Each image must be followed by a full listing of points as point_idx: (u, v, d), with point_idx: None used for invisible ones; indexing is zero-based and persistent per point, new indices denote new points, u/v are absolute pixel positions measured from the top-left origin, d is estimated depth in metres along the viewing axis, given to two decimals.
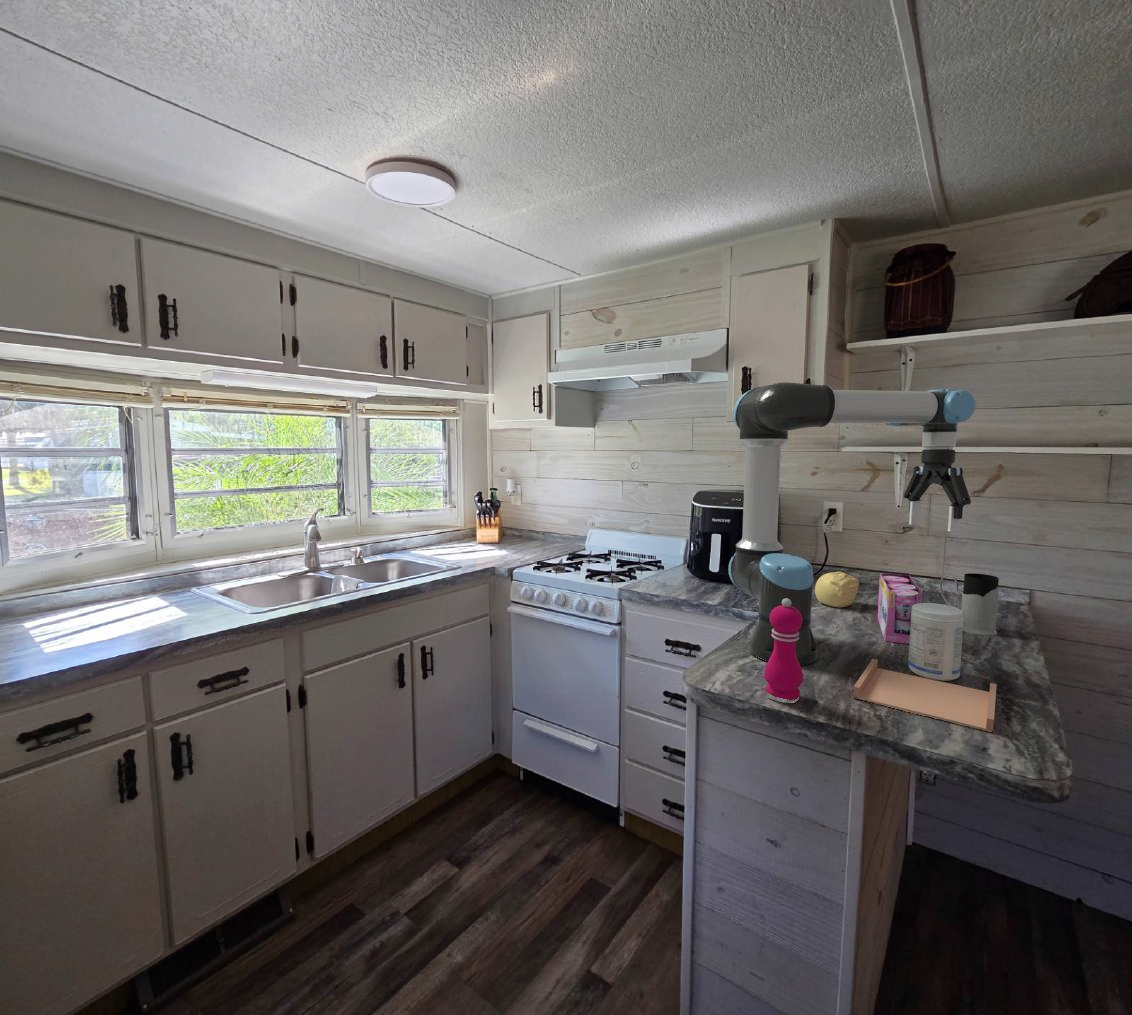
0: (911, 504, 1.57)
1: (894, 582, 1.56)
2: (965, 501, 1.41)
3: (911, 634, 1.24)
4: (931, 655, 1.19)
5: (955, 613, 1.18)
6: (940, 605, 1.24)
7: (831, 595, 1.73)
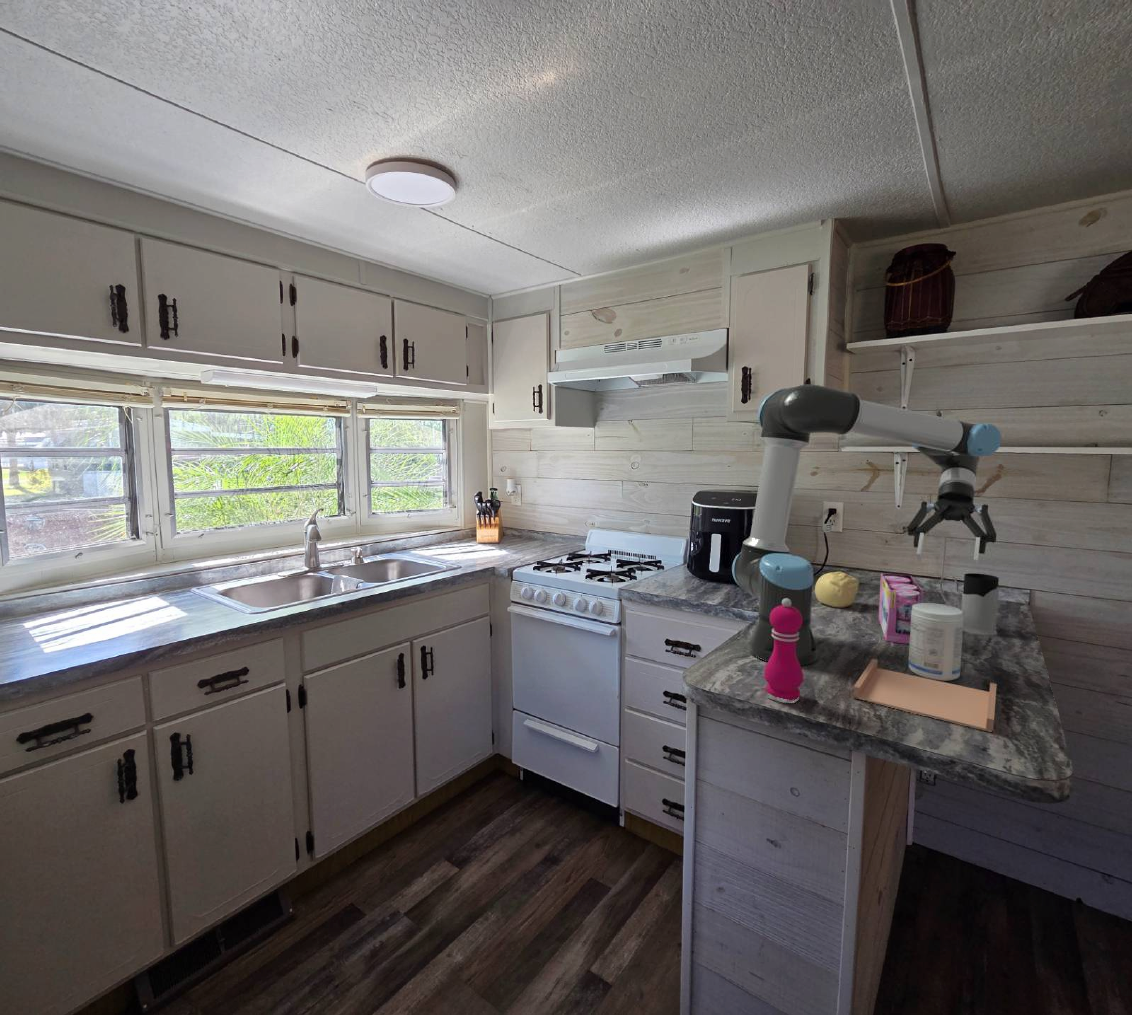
0: (921, 535, 1.37)
1: (895, 582, 1.55)
2: None
3: (911, 634, 1.24)
4: (931, 655, 1.19)
5: (955, 613, 1.18)
6: (940, 605, 1.24)
7: (831, 595, 1.73)
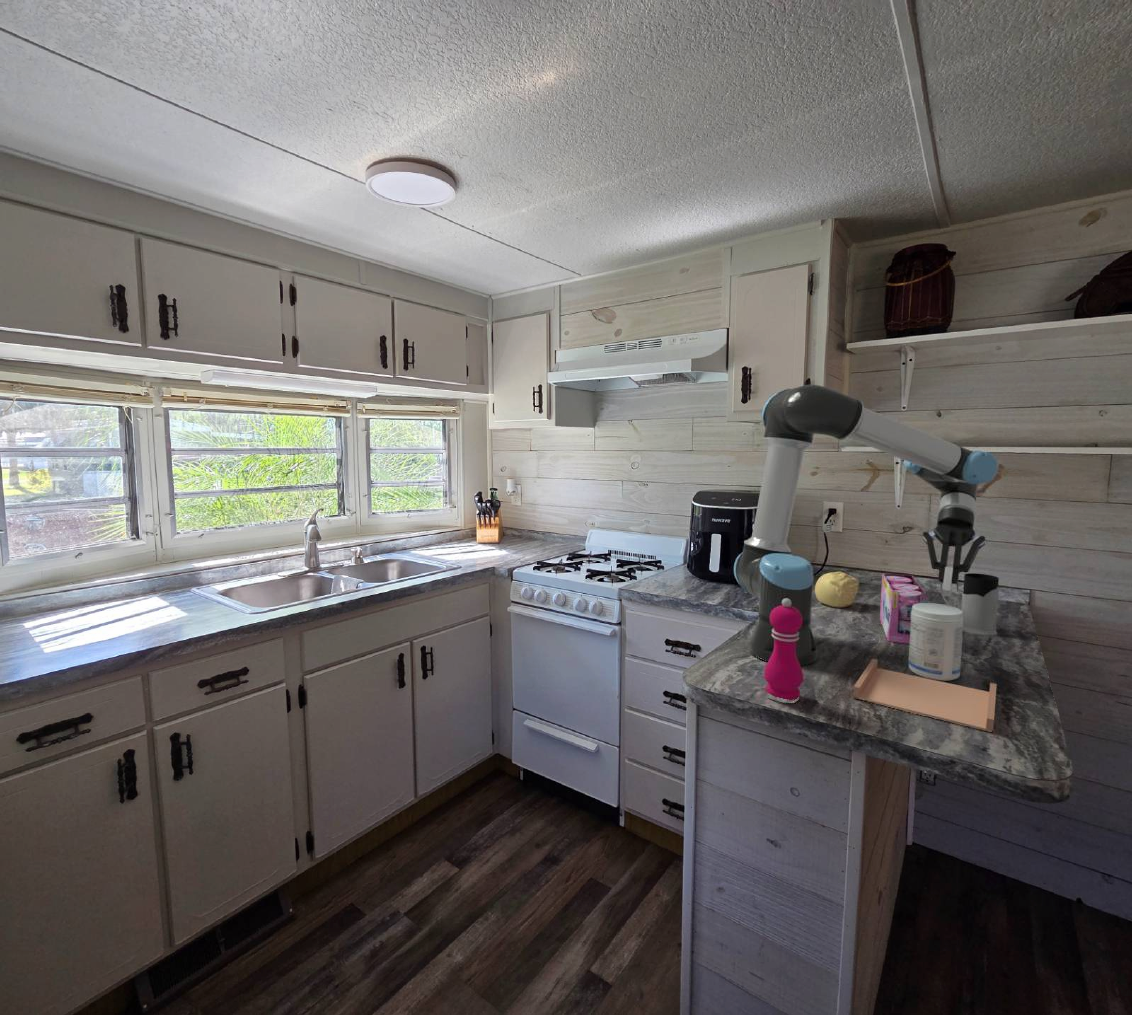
0: (947, 569, 1.33)
1: (897, 582, 1.55)
2: (968, 567, 1.32)
3: (911, 634, 1.24)
4: (931, 655, 1.19)
5: (955, 613, 1.18)
6: (940, 605, 1.24)
7: (831, 595, 1.73)
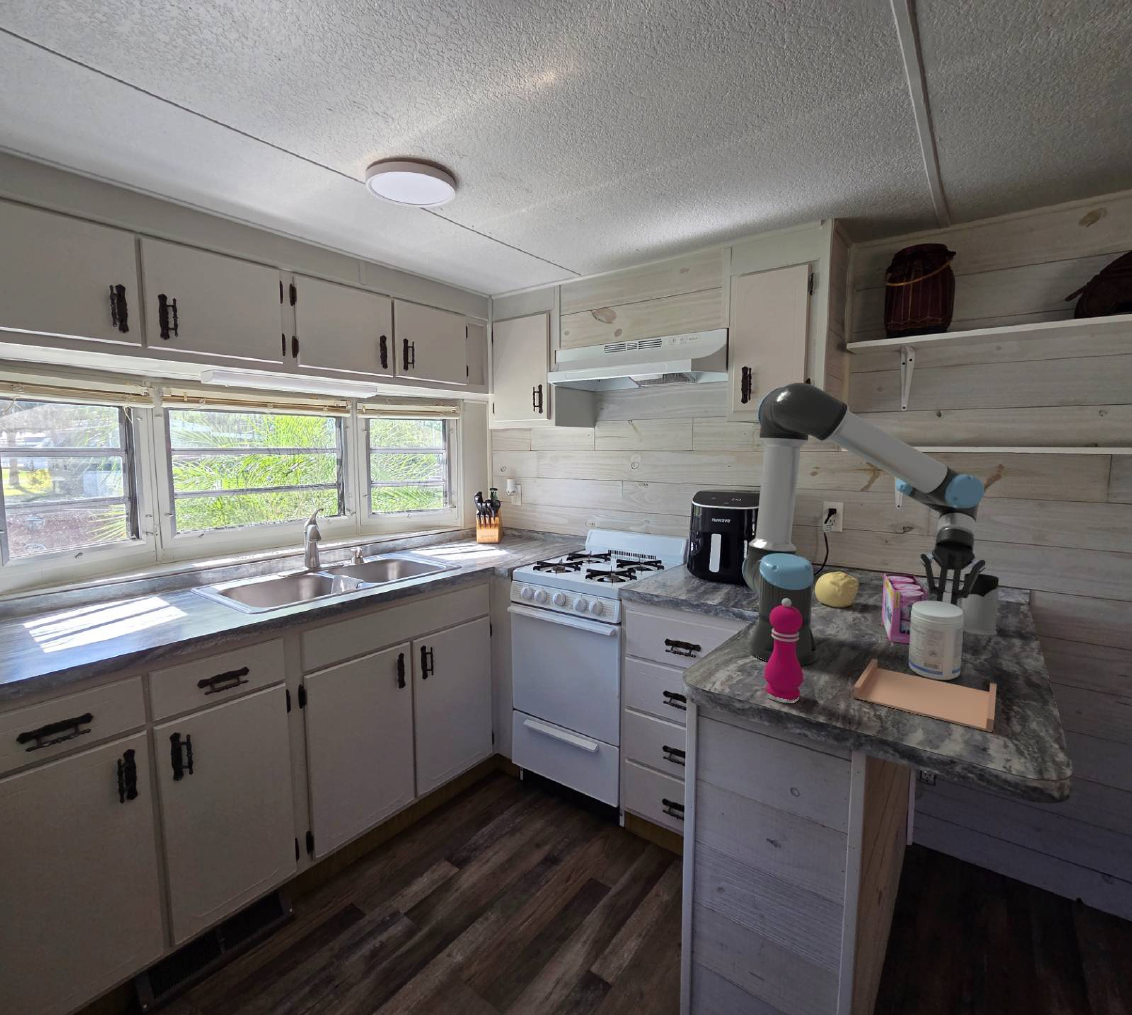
0: (945, 595, 1.27)
1: (899, 582, 1.55)
2: (967, 593, 1.26)
3: (911, 634, 1.23)
4: (931, 656, 1.19)
5: (956, 614, 1.17)
6: (940, 603, 1.22)
7: (831, 595, 1.73)
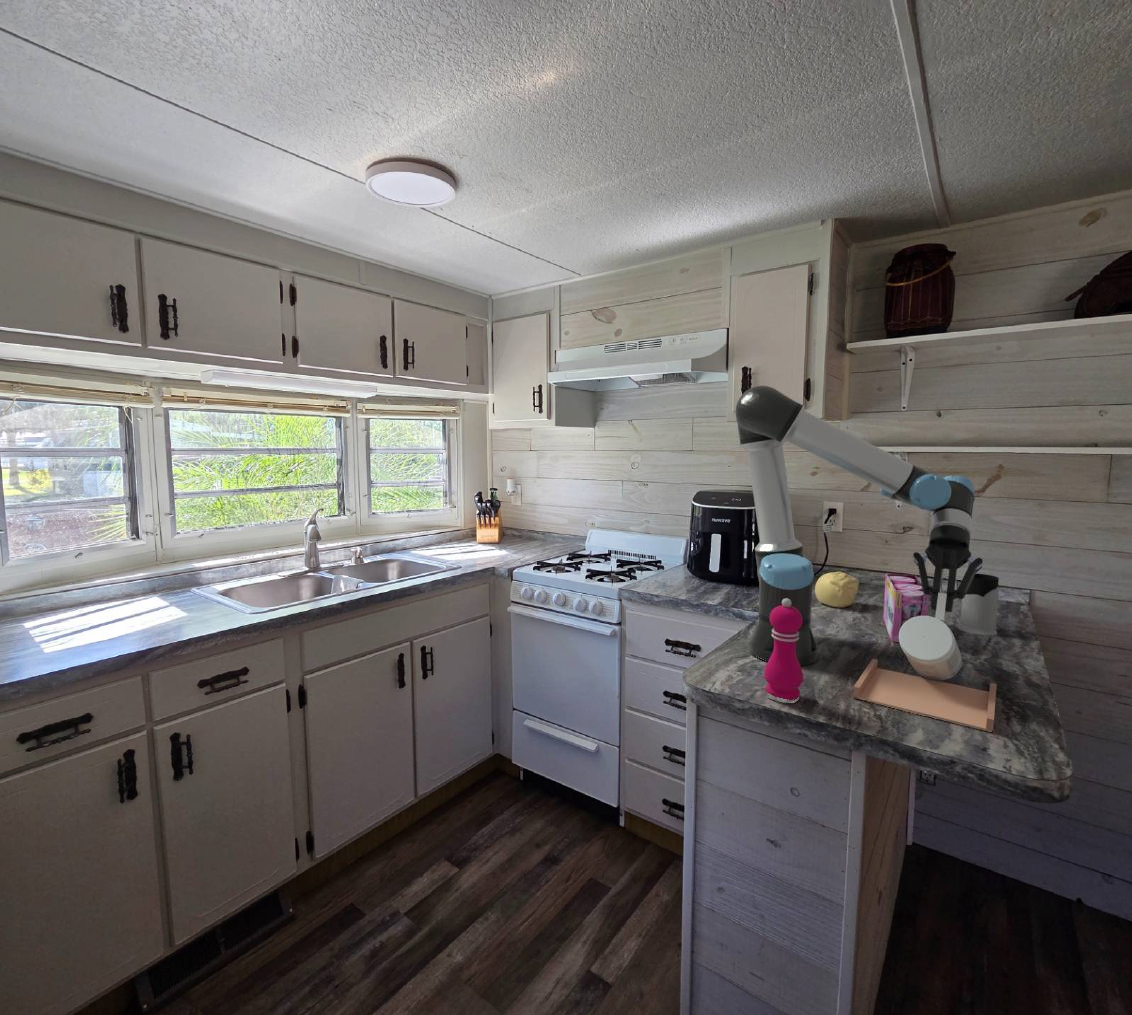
0: (940, 596, 1.18)
1: (900, 582, 1.55)
2: (963, 593, 1.17)
3: None
4: (926, 673, 1.16)
5: (944, 651, 1.08)
6: (929, 622, 1.12)
7: (831, 595, 1.73)
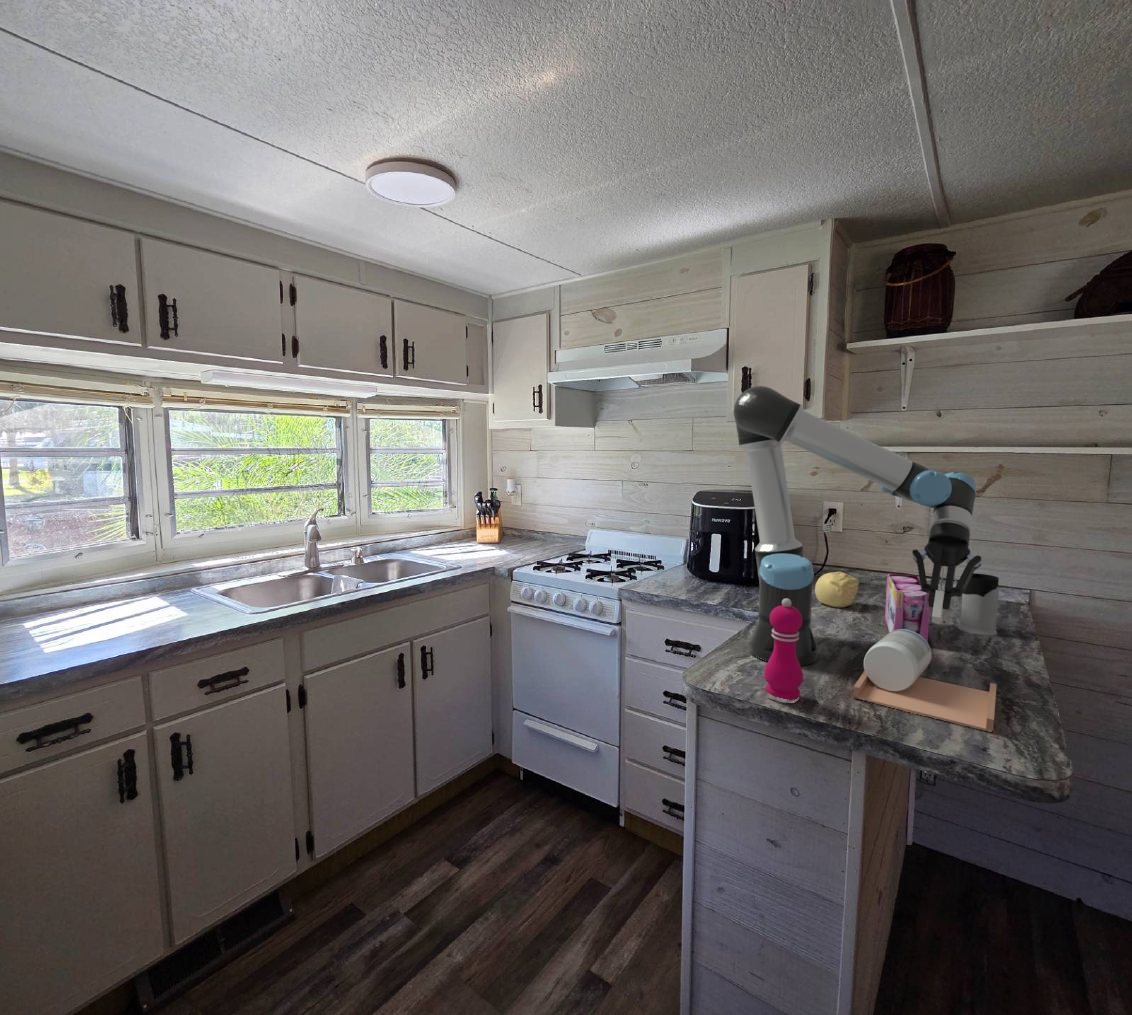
0: (937, 593, 1.18)
1: (902, 582, 1.55)
2: (961, 591, 1.17)
3: None
4: None
5: (909, 663, 1.10)
6: (874, 655, 1.14)
7: (831, 595, 1.73)
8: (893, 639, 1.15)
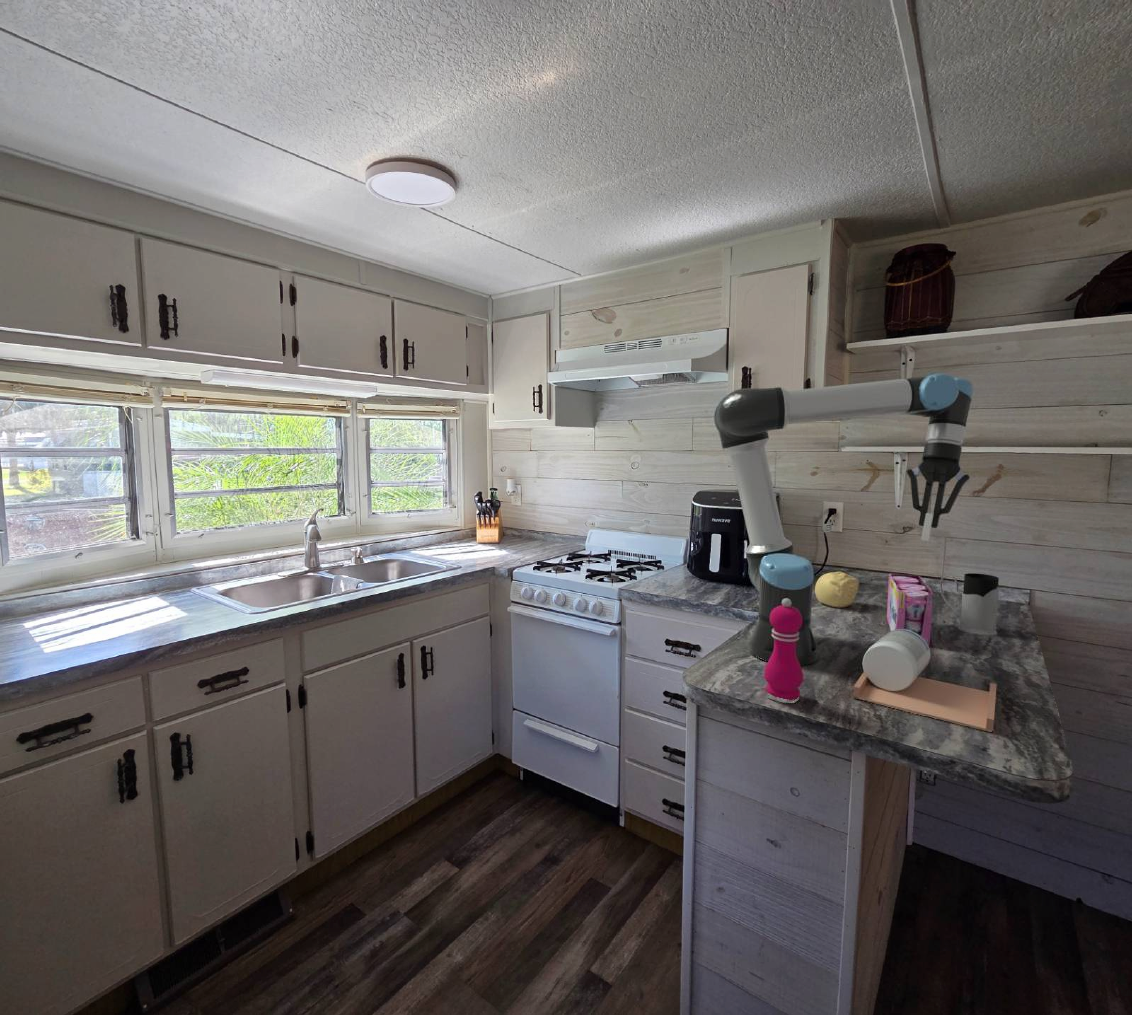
0: (927, 516, 1.34)
1: (904, 582, 1.55)
2: (948, 511, 1.33)
3: None
4: None
5: (907, 662, 1.10)
6: (873, 656, 1.14)
7: (831, 595, 1.73)
8: (891, 639, 1.15)
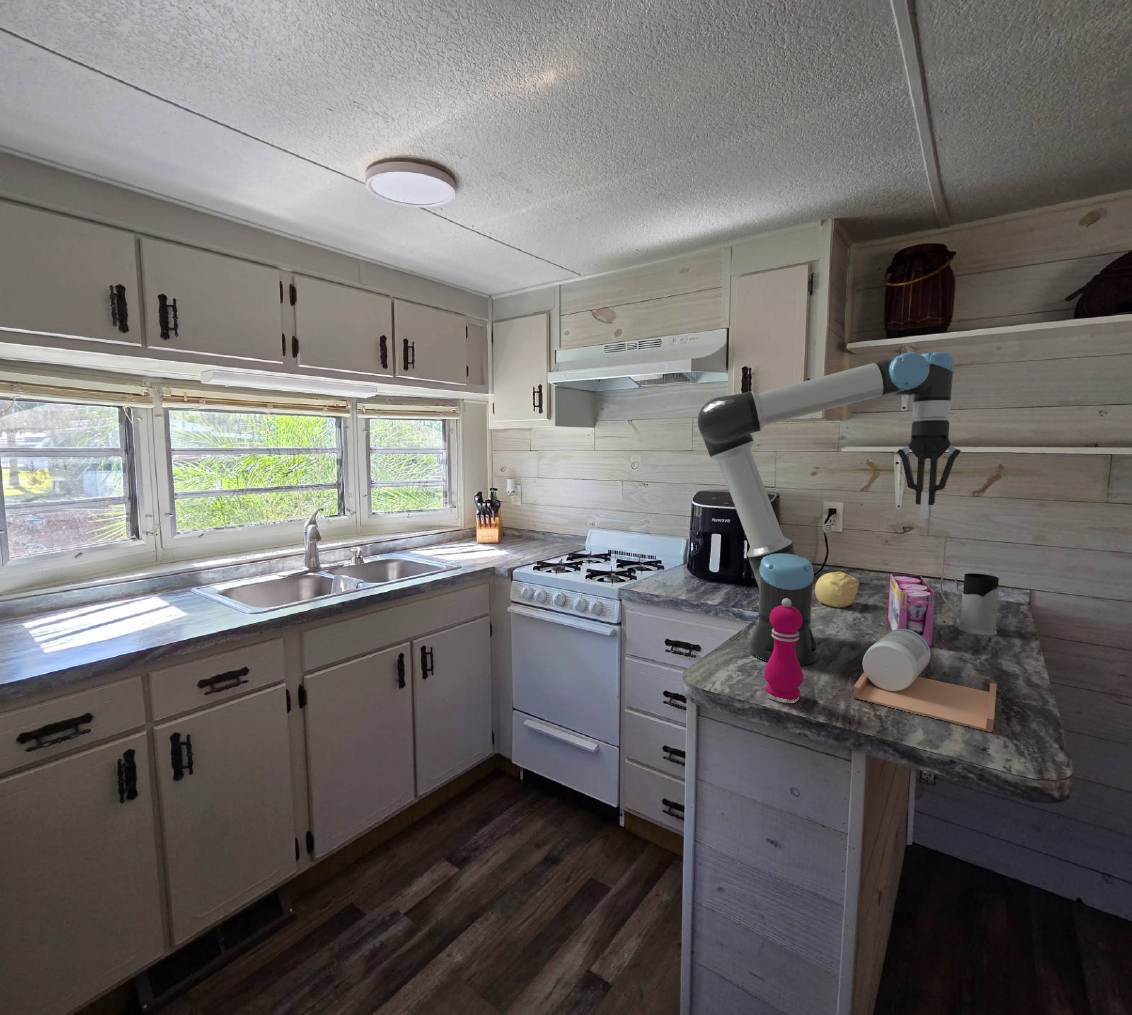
0: (923, 495, 1.34)
1: (905, 583, 1.55)
2: (944, 487, 1.33)
3: None
4: None
5: (907, 662, 1.10)
6: (873, 656, 1.14)
7: (831, 595, 1.73)
8: (891, 639, 1.15)
